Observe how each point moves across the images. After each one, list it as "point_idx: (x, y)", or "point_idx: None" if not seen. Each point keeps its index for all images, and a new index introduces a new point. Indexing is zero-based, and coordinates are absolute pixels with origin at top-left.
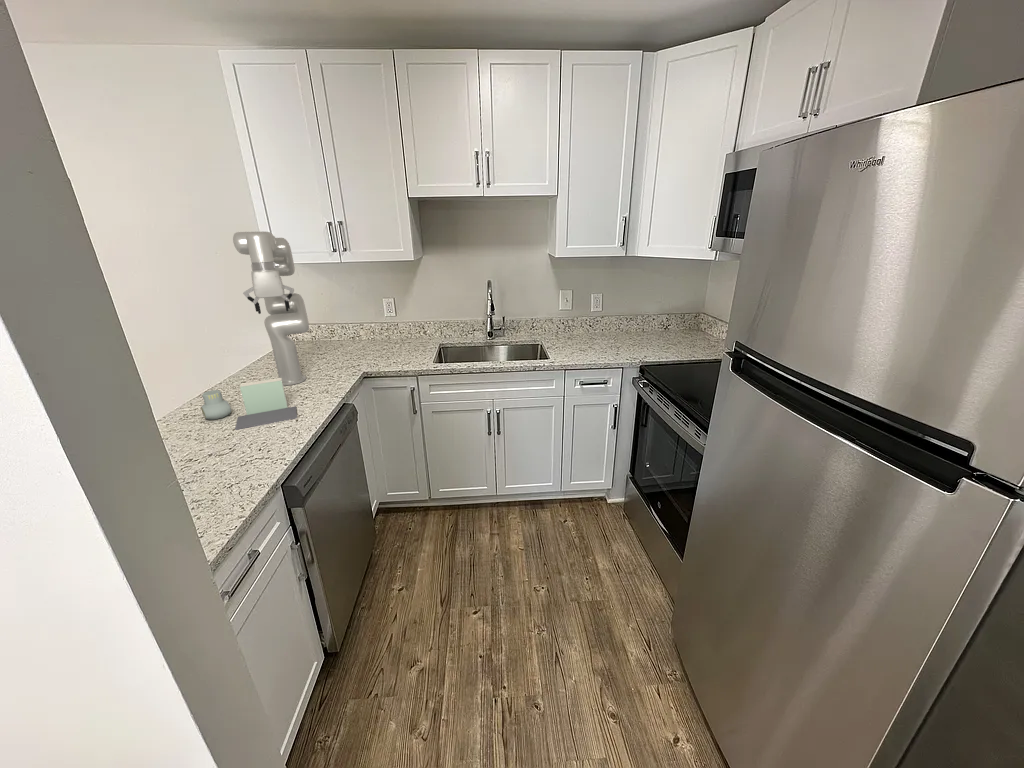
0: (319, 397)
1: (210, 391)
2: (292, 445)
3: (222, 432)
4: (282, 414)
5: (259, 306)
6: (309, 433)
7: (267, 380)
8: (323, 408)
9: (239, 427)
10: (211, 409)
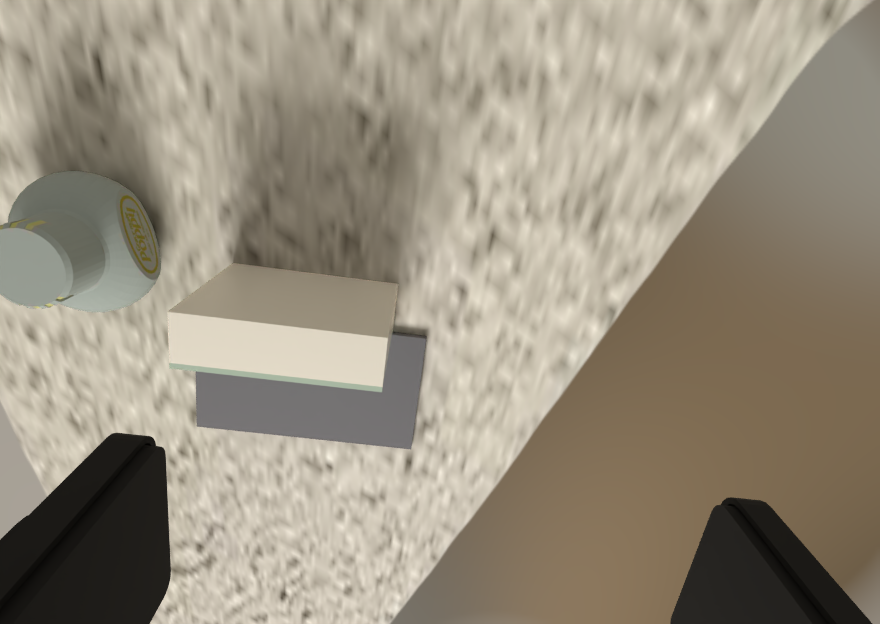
0: (542, 273)
1: (12, 243)
2: (369, 616)
3: (156, 416)
4: (365, 395)
5: (71, 619)
6: (426, 574)
7: (311, 342)
8: (520, 409)
9: (211, 425)
10: (70, 305)
